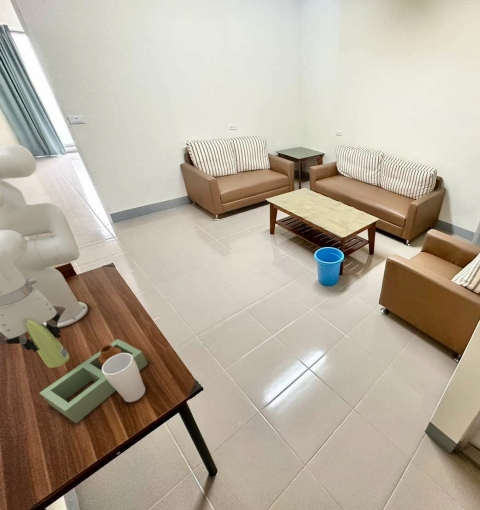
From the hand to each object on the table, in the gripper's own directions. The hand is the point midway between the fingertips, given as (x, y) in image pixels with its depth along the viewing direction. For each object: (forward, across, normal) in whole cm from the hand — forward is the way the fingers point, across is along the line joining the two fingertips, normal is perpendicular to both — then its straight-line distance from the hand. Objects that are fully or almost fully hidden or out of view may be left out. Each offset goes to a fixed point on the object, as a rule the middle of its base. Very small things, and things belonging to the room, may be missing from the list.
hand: (44, 341), depth 75 cm
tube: (+9, 0, 0) cm, 9 cm away
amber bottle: (+14, -7, +12) cm, 20 cm away
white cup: (+15, -4, +24) cm, 28 cm away
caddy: (+14, -2, +12) cm, 19 cm away
